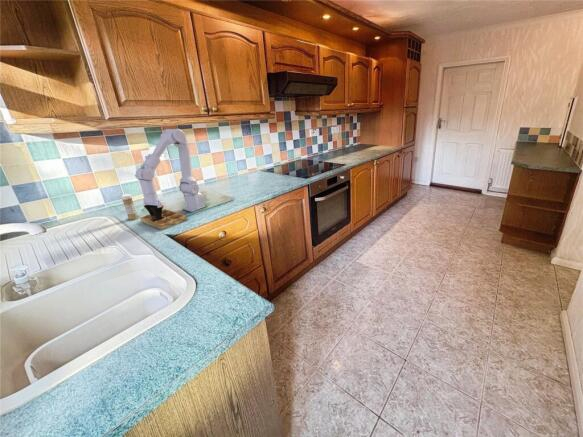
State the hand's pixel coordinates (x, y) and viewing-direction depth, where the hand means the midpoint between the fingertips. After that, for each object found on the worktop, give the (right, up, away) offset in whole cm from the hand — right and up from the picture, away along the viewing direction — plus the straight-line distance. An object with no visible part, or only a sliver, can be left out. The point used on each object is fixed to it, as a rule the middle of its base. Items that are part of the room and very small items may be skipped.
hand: (156, 218), depth 131 cm
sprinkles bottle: (-17, 0, +9) cm, 20 cm away
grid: (+2, -1, +3) cm, 4 cm away
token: (0, -1, 0) cm, 1 cm away
